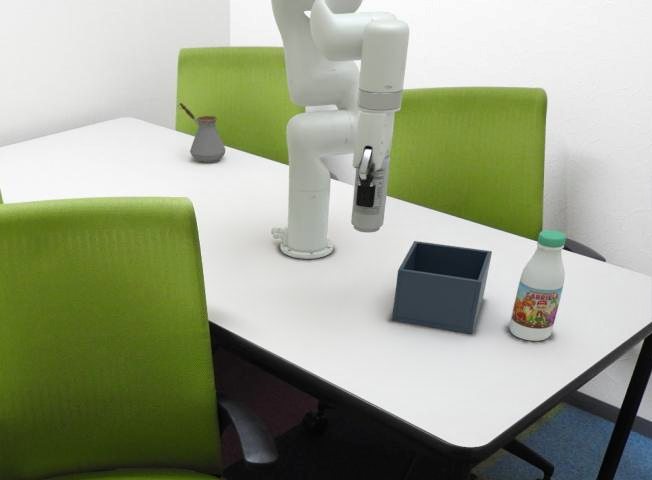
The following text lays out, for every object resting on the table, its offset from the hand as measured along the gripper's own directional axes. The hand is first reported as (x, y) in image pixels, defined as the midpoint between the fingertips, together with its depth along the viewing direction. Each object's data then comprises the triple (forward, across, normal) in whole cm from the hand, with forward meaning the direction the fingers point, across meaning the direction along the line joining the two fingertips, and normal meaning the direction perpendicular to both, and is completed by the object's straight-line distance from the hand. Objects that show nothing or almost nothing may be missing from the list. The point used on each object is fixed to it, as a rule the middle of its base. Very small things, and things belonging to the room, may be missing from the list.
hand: (369, 199), depth 142 cm
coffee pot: (+26, -88, -77) cm, 120 cm away
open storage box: (+24, -6, +15) cm, 29 cm away
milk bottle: (+23, -3, +33) cm, 41 cm away
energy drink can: (+6, 0, 0) cm, 6 cm away
